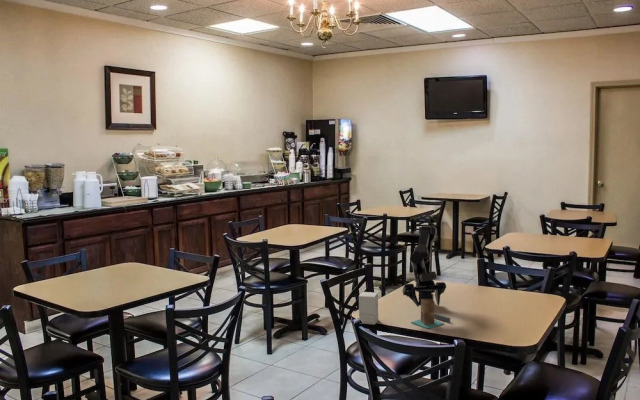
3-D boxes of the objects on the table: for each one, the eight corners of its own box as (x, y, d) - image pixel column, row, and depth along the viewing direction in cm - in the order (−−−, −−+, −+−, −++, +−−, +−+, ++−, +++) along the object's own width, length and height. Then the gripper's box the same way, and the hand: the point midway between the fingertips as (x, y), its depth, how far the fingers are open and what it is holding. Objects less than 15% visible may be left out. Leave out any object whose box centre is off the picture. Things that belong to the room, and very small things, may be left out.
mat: (411, 323, 238) (411, 322, 238) (426, 318, 244) (426, 317, 244) (428, 329, 230) (428, 328, 230) (443, 324, 236) (443, 323, 235)
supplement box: (378, 319, 243) (378, 292, 242) (374, 325, 236) (374, 296, 235) (362, 318, 245) (362, 291, 244) (358, 323, 238) (358, 295, 237)
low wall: (431, 317, 245) (431, 312, 245) (433, 316, 246) (433, 312, 246) (448, 322, 237) (448, 318, 237) (450, 322, 238) (450, 317, 238)
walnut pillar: (424, 324, 234) (424, 302, 233) (420, 321, 239) (420, 299, 238) (434, 324, 235) (434, 301, 234) (430, 320, 239) (431, 298, 238)
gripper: (404, 266, 237) (411, 297, 227) (445, 264, 239) (454, 295, 229) (399, 279, 245) (406, 310, 236) (438, 277, 248) (447, 307, 238)
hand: (428, 305), depth 234 cm, fingers open, 9 cm apart
